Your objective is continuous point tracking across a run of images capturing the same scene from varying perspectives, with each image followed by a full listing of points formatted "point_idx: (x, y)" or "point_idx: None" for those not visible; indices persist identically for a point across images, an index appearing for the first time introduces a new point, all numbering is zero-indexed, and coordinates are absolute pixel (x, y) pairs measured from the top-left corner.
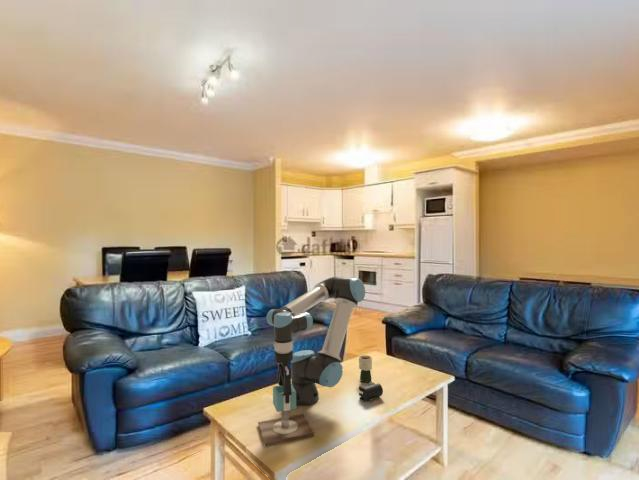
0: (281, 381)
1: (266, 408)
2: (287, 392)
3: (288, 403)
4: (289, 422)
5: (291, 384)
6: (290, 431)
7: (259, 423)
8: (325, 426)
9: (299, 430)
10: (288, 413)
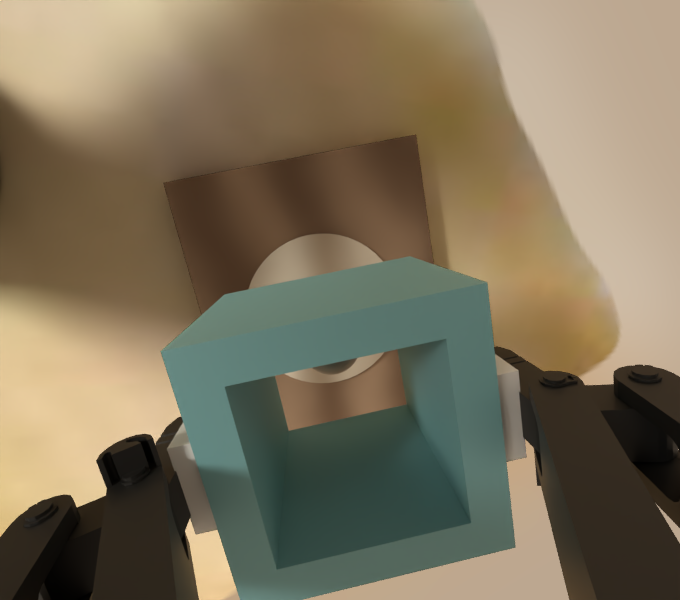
0: (186, 557)
1: (39, 421)
2: (672, 446)
3: None
4: None
5: (191, 348)
6: None
7: None
8: (311, 41)
9: (375, 226)
10: None
